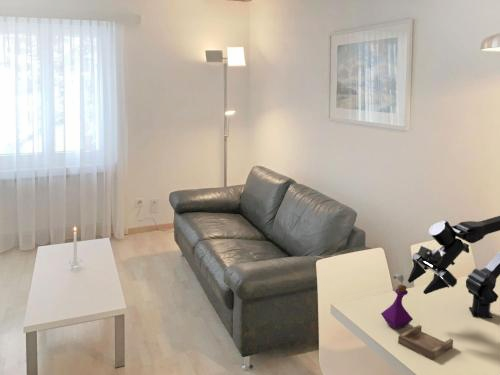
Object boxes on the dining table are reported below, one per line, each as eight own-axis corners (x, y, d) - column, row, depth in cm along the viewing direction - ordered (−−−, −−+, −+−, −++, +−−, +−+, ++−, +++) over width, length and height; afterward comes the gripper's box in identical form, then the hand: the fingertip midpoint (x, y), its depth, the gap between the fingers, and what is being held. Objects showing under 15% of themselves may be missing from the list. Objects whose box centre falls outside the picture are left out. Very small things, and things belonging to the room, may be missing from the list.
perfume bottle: (412, 328, 163) (416, 277, 159) (394, 332, 160) (397, 281, 156) (398, 318, 169) (401, 269, 165) (380, 322, 167) (382, 272, 163)
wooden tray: (418, 331, 160) (418, 324, 160) (452, 347, 151) (453, 340, 150) (398, 343, 154) (398, 335, 153) (432, 359, 144) (433, 352, 144)
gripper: (418, 230, 170) (387, 263, 170) (452, 248, 152) (418, 284, 152) (436, 249, 173) (406, 281, 173) (471, 269, 156) (438, 305, 155)
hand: (416, 287), depth 163 cm, fingers open, 9 cm apart
